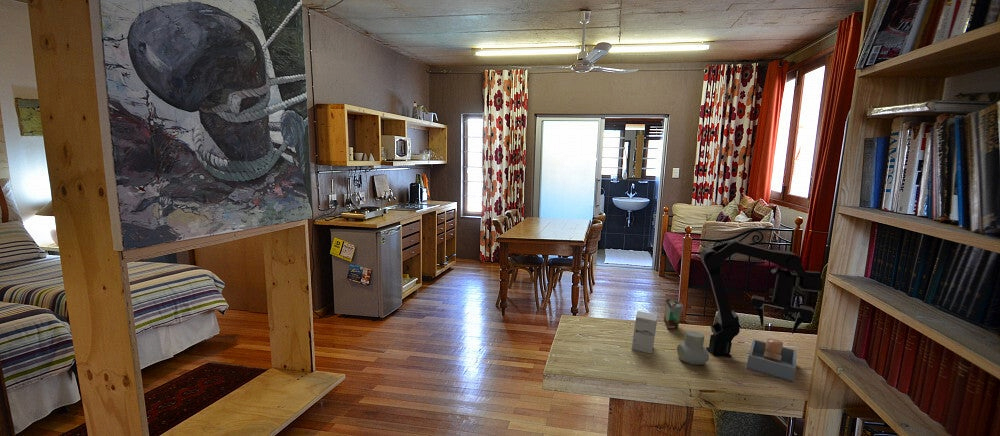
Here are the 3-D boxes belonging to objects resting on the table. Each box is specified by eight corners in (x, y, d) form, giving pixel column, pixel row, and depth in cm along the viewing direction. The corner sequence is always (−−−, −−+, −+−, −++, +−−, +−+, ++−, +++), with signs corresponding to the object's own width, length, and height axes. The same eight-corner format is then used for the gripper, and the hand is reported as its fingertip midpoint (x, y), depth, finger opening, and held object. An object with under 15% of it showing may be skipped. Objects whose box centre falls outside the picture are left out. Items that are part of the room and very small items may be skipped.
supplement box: (631, 349, 163) (635, 316, 161) (633, 342, 170) (637, 310, 168) (652, 354, 160) (656, 320, 158) (653, 346, 167) (658, 314, 165)
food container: (683, 333, 182) (687, 309, 180) (667, 330, 183) (671, 307, 181) (678, 321, 194) (681, 299, 192) (663, 319, 195) (666, 297, 193)
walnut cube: (779, 368, 155) (781, 355, 154) (778, 374, 150) (781, 360, 150) (762, 364, 157) (764, 350, 157) (761, 369, 153) (763, 355, 152)
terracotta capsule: (782, 363, 159) (786, 344, 158) (769, 362, 159) (772, 344, 158) (773, 356, 164) (776, 338, 163) (760, 356, 164) (763, 338, 162)
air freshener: (673, 353, 163) (677, 326, 161) (697, 354, 163) (700, 328, 161) (685, 367, 152) (689, 339, 150) (709, 369, 152) (714, 341, 150)
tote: (793, 382, 147) (795, 368, 146) (746, 369, 154) (748, 355, 153) (793, 363, 161) (796, 350, 161) (751, 351, 169) (753, 338, 168)
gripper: (816, 288, 159) (808, 330, 161) (756, 277, 169) (749, 316, 171) (817, 296, 149) (808, 340, 152) (753, 283, 159) (746, 325, 162)
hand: (777, 329), depth 160 cm, fingers open, 9 cm apart
